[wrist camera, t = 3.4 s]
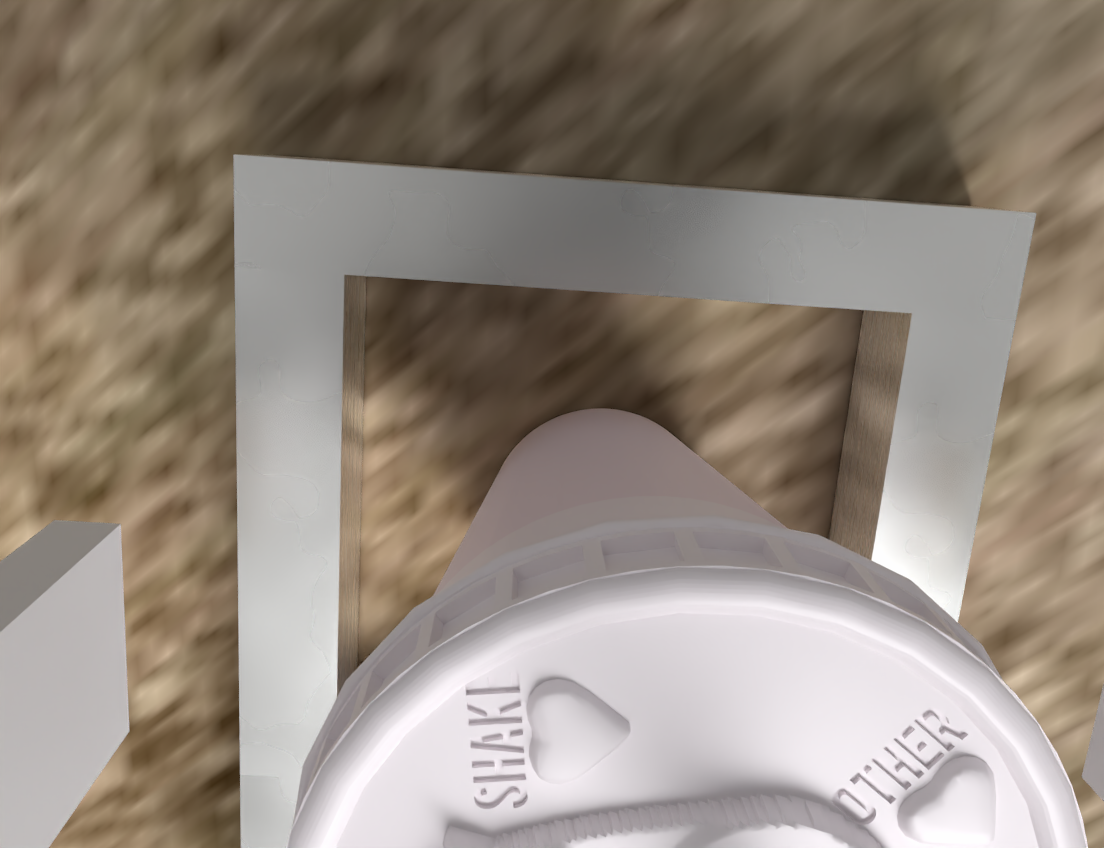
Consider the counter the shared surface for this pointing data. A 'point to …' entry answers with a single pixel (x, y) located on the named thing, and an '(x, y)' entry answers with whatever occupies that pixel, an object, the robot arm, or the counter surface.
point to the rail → (585, 265)
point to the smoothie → (672, 683)
